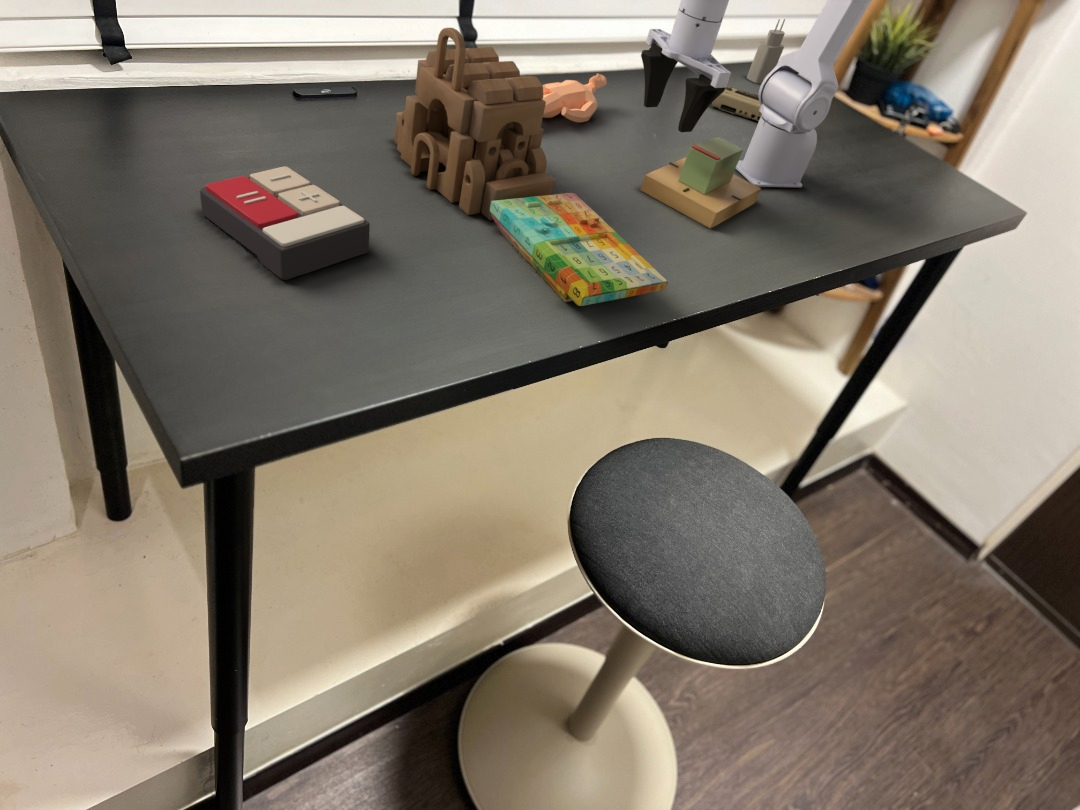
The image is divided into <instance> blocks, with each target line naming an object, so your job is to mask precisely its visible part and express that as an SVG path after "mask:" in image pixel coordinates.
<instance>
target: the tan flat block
mask: <svg viewBox="0 0 1080 810" xmlns="http://www.w3.org/2000/svg"><path fill="white" fill-rule="evenodd" d="M686 157H687V156H686ZM686 157H683V158H680V159H678V160H675V161H674V162H672V161H670V162H669V164H667V165H664V166H662V167H660V168H657V169H655V170H653V171H650V172H648V173H646V174H644V178H643V181H642V184H641V187H640V191H641V193H645V194H646V195H648V196H650V197H652V198H653V199H655V200H657V201H659V202H661V203H662V204H665V205H666V206H668V207H670V208H672V209H674V210H675V211H677V212H679V213H681V214H682V215H685V216H686V217H688V218H690V219H692V220H693V221H695V222H696V223H699V224H701V225H702V226H704V227H706V228H709V229H710V230H711V229H713V228H714V227H716V226H718V225H720V224H721V223H723V222H725V221H727V220H729V219H731V218H732V217H734V216H735V215H737V214H739V213H741V212H742V211H744V210H745V209H748V208H749V207H751V206H753V205H755V204H756V201H757V199H758V197H759V194H760V192H761V190H762V187H757V186H756V185H754V184H752V183H750V182H749V181H748V180H747V179H745V178H742V177H740V176H738V175H735V173H734V174H733V176H732V179H731V181H730V182H728V183H726V184H724V185H722V186H720V187H718V188H716V189H714V190H712V191H710V192H708V193H706V194H703V193H701V192H699V191H697V190H695V189H693V188H691V187H689V186H687V185H686V184H684V183H682V182H680V181H678V180H679V177H680V174H681V171H682V168H683V166H684V163H685V160H686Z"/></svg>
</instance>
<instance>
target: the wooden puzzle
mask: <svg viewBox="0 0 1080 810" xmlns="http://www.w3.org/2000/svg"><path fill="white" fill-rule="evenodd" d="M449 39H451V40H452V41H453V43H454V47H455V48H451V49H450V48H449V49H447V48H448V41H449ZM542 85H543V84H542V83H541V81H540V79H539V78H538V76H535V75H533V76H531V75H528V76H526V75H525V76H521V70H520V68H519V67H518V66H517V64H516V62H515V61H513V60H504V61H503V60H502V61H501V60H500V57H499V55H498V54H497V52H496V50H495V49H494V48H493V47H491V46H490V47H489V46H488V47H487V46H485V47H467V46H466V43H465V38H464V36H463V35H462V34H461V32H460V31H459V30H458V29H456V28H454V27H443V29H441V30H440V31H439V33H438V37H437V42H436V49H430V50H429V51H428V53H427V55H426V57H425V59H418V60H417V68H416V77H415V86H414V87H415V88H414V93H415V95H406V97H405V108H404V110H403V111H398V112H396V116H395V126H394V137H393V142H394V143H395V144H396V146H397V147H396V151H398V152H399V154H400V159H401V160H402V161H403V162H405V163H406V164H407V165H408V166H409V167H410V174H411V175H413V176H414V177H416V176H420V173H425V172H427V180H426V188H427V189H428V190H430V191H433V190H436V191H437V192H439V193H440V194H441V195H442V196H443V197H444V198H445V199H447V200H448V201H449V202H450V203H452V204H453V203H458V208H459V209H460V210H461V211H462V212H464V213H465V214H466V215H467V216H472V215H478V214H482V215H483V216H484V217H485V218H487V219H488V221H494V220H493V218H492V215H491V213H490V211H489V209H490V203H491V201H496V200H505V199H515V198H525V197H534V196H544V195H553V190H554V186H555V182H556V178H554V177H552V176H551V175H550V174H549V173H548V172H547V156H546V154H545V151H544V150H543V148H542V147H541V146H542V141H543V137H544V131H545V129H544V128H543V127H542V122H543V118H544V117H543V114H544V109H545V104H546V101H544V100H543V86H542ZM443 169H445V170H444V171H442V172H439V170H443Z"/></svg>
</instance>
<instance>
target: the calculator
mask: <svg viewBox="0 0 1080 810" xmlns="http://www.w3.org/2000/svg"><path fill="white" fill-rule="evenodd" d="M199 196H200V206H201V212H202V213H201V214H202V216H204V217H205V218H207V219H208V220H209V221H211V222H212V223H213V224H214V225H216V226H217V227H218V228H220V229H221V230H223V231H224V232H225V233H226V234H228V235H229V236H230V237H232V238H233V239H235V241H237V242H238V243H240V244H241V245H242V246H244V247H245V248H246V249H247V250H249V251H250V252H251V253H253V254H254V255H255V256H257V259H258V260H259V261H260V263H261V264H262V266H264V267H265V268H266V269H267V270H269V271H270V272H271V273H273V274H274V275H276V276H277V277H278V278H279V279H281V280H283V281H288V280H291V279H294V278H297V277H299V276H303V275H305V274H309V273H312V272H315V271H318V270H320V269H324V268H326V267H329V266H331V265H335V264H337V263H341V262H343V261H347V260H350V259H352V258H355V257H359V256H361V255H362V256H363V255H364V254H367V253H368V252H369V251H370V229H371V227H370V226H371V225H370V224H371V223H370V222H369V221H368V220H367V219H365V218H364V217H362V216H361V215H359V214H358V213H356V212H355V211H354V210H352V209H350V208H349V207H347V206H346V205H344V204H343V203H341V202H340V200H338V199H337V198H336V197H334V196H332V195H331V194H329V193H328V192H326V191H325V190H323V189H322V188H320V187H319V186H318V185H315V184H312V183H311V181H310V180H308V179H307V178H305V177H303V176H302V175H300V174H299V173H297V172H296V171H294V170H293V169H291V168H290V167H288V166H286V165H285V166H280V167H275V168H271V169H267V170H263V171H258V172H254V173H250V174H249V176H245V175H241V176H236V177H232V178H227V179H224V180H219V181H215V182H210V183H207V184H205V187H201V188H200V189H199Z"/></svg>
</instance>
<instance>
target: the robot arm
mask: <svg viewBox="0 0 1080 810" xmlns="http://www.w3.org/2000/svg"><path fill="white" fill-rule="evenodd" d="M872 1H873V0H826V1H825V3H824V5H823V7H822V9H821V10H820V13H819V14H818V16H817V17H816V19H815V21H814V23H813V25H812V26H811V28H810V30H809V32H808V34H807V35H806V38H805V39H804V40H803V43H802V45H801V46H800V48H798V49H797V50H794V51H791V52H788V53H785V54H783V55H781V56H780V59H779V61H778V63H777V65H776V66H775V68H774V69H773V70H772V71H771V72H770V73H769V74H768V75H767V76H766V77H765V79H764V80H763V82H762V83H760V86H759V90H758V95H759V101H760V103H761V108H760V110H759V111H760V112H761V113H762V115H761V117H760V120H759V121H757V122H758V123H757V124H756V128H755V130H754V133H753V135H752V138H751V140H750V142H749V145H748V148H747V150H746V152H745V155H744V157H743V159H739V161H738V164H737V166H736V169H735V170H736V171H738V173H740V174H741V175H742V176H743V178H744V179H745V180H746V181H748V182H750V183H752V184H754V185H756V186H757V187H759V188H799V189H800V188H802V187H803V186H804V185H803V184H802V179H803V176H804V174H805V173H806V170H807V168H808V166H809V164H810V162H811V159H812V158H813V156H814V153H815V152H816V148H817V143H818V135H817V130H816V128H818V127H819V126H820V125H821V124H822V123H823V122H824V120H825V119H826V118H827V116H828V114H829V112H830V108H831V105H832V101H833V98H834V96H835V94H836V93H837V91H838V90H839V83H838V80H837V76H836V72H835V68H834V65H835V63H836V62H837V60H838V58H839V56H840V55H841V53H842V52H843V51H844V48H845V46H846V45H847V43H848V42H849V40H850V39H851V36H852V35H853V33H854V31H855V29H856V27H857V26H858V25H859V23H860V21H861V20H862V18H863V16H864V15H865V13H866V11H867V9H868V8H869V7H870V5H871V3H872ZM729 2H730V0H680V3H679V6H678V9H677V13H676V17H675V20H674V22H673V23H674V24H673V27H672V30H671V33H668V32H667V31H665V30H663V29H662V28H649V30H648V34H647V37H646V41H645V44H646V45H647V46H649V49H643V50H641V54H640V58H641V61H642V66H643V75H644V97H643V106H644V107H645V108H658V106H659V105H660V103H661V100H662V98H663V95H664V92H665V89H666V86H667V83H668V81H669V79H670V77H671V75H672V73H673V72H674V69H675V68H676V66H677V64H678V63H679V64H681V65H682V66H684V67H685V68H686V69H688V70H690V71H692V72H693V73H695V74H696V75H697V76H698V75H699V76H698V77H688V78H686V79H685V96H684V101H683V102H684V103H683V107H682V111H681V114H680V117H679V121H678V127H677V131H679V132H680V133H690V132H691V133H692V132H693V130H694V128H696V125H697V124H698V123H699V121H700V119H701V117H702V116H703V114H704V113H705V112H706V111H707V110H708V108H709V107H710V106H711V105H712V102H713V101H714V100H715V99H716V98H717V97H718V96H719V95H720V94H722V93H723V92H724V91H725V88H726V86H728V84H729V80H730V78H731V75H732V72H731V71H730V70H728V69H727V68H725V67H724V66H723V65H722V64H721V63H720V62H719V61H718V60H717V58H715V57H714V55H713V54H712V52H713V50H714V46H715V44H716V40H717V37H718V36H719V32H720V28H721V26H722V22H723V19H724V16H725V14H726V10H727V8H728V5H729ZM801 75H802V76H801ZM804 77H805V78H804ZM806 78H807V79H806Z"/></svg>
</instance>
